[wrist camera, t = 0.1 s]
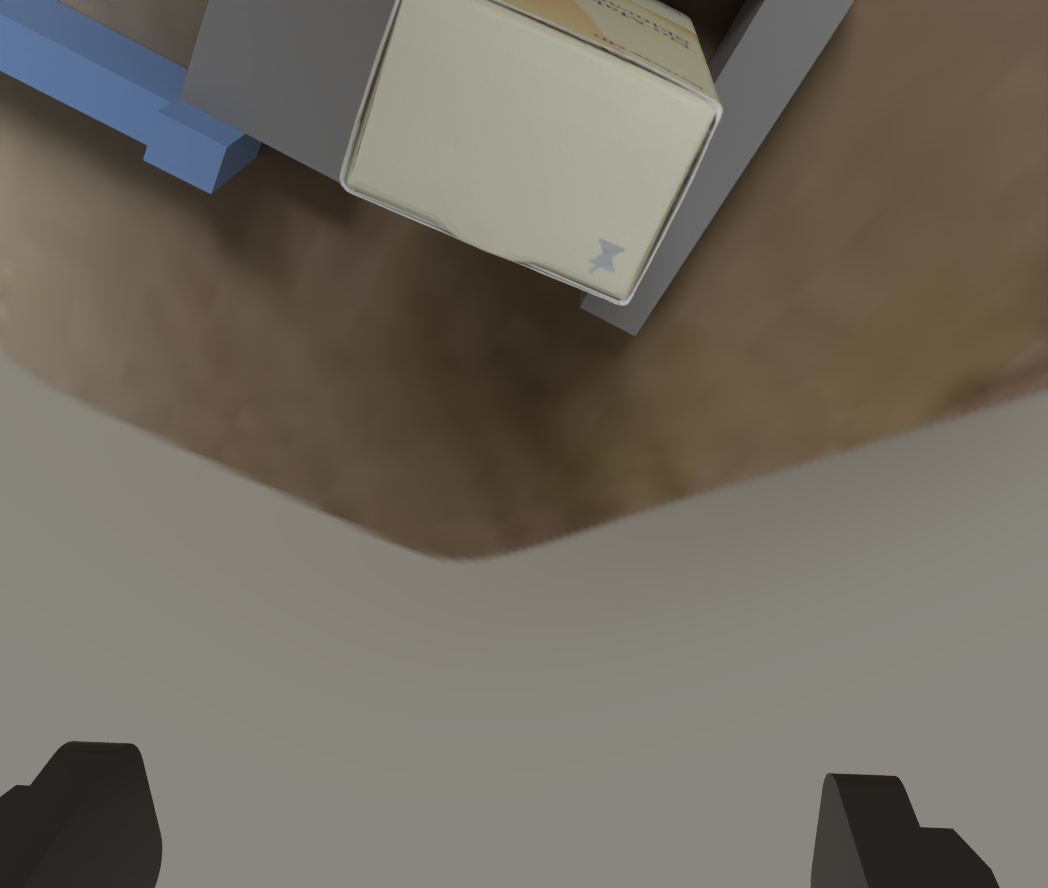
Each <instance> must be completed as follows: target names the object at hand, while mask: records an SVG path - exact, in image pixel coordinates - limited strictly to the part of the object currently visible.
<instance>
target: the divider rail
mask: <svg viewBox="0 0 1048 888" xmlns="http://www.w3.org/2000/svg"><path fill="white" fill-rule="evenodd" d="M854 1H855V0H746V1H745V3H744V4H743V6H742V8H741V9H740V11H739V13H738V14H737V16H736V18H735V19H734V21H733V23H732V25H731V26H730V28H729V30H728V31H727V33H726V35H725V36H724V38H723V40H722V41H721V43H720V45H719V46H718V48H717V50H716V52H715V53H714V55H713V57H712V58H711V60H710V62H709V63H708V65H707V66H708V68H709V71H710V74H711V77H712V80H713V83H714V86H715V89H716V91H717V94H718V97H719V100H720V103H721V105H722V107H723V115H722V119H721V121H720V122H719V124H718V126H717V129H716V131H715V133H714V135H713V138H712V140H711V142H710V144H709V147H708V149H707V151H706V154H705V156H704V158H703V160H702V162H701V164H700V167H699V169H698V171H697V173H696V175H695V177H694V179H693V181H692V183H691V185H690V187H689V189H688V191H687V193H686V195H685V197H684V199H683V201H682V203H681V205H680V208H679V210H678V212H677V214H676V215H675V217H674V219H673V221H672V223H671V225H670V227H669V229H668V231H667V233H666V235H665V237H664V239H663V241H662V243H661V244H660V246H659V248H658V250H657V252H656V254H655V256H654V258H653V260H652V262H651V264H650V265H649V267H648V269H647V271H646V273H645V275H644V276H643V278H642V280H641V282H640V284H639V285H638V287H637V289H636V291H635V293H634V295H633V297H632V299H631V301H630V303H629V304H628V305H626V306H620V305H616V304H614V303H612V302H610V301H608V300H605V299H603V298H600V297H598V296H595V295H593V294H590V293H588V292H585V291H583V290H581V292H580V306H579V308H581V309H583V310H585V311H587V312H589V313H591V314H593V315H595V316H597V317H599V318H601V319H603V320H604V321H606V322H608V323H610V324H612V325H614V326H616V327H618V328H620V329H622V330H624V331H626V332H628V333H629V334H631V335H633V336H636V334H637V333H638V331H639V330H640V328H641V327H642V325H643V324H644V322H645V321H646V319H647V318H648V316H649V315H650V313H651V312H652V310H653V308H654V307H655V305H656V304H657V302H658V301H659V299H660V298H661V296H662V295H663V293H664V292H665V290H666V289H667V287H668V286H669V284H670V282H671V281H672V279H673V278H674V276H675V275H676V273H677V272H678V270H679V269H680V267H681V266H682V264H683V263H684V261H685V259H686V258H687V256H688V255H689V253H690V252H691V250H692V249H693V247H694V246H695V244H696V243H697V241H698V240H699V238H700V237H701V235H702V233H703V232H704V230H705V229H706V227H707V226H708V224H709V223H710V221H711V220H712V218H713V217H714V215H715V214H716V212H717V210H718V209H719V207H720V206H721V204H722V203H723V201H724V200H725V198H726V197H727V195H728V194H729V192H730V191H731V189H732V188H733V186H734V184H735V183H736V181H737V180H738V178H739V177H740V175H741V174H742V172H743V171H744V169H745V168H746V166H747V165H748V163H749V161H750V160H751V158H752V157H753V155H754V154H755V152H756V151H757V149H758V148H759V146H760V145H761V143H762V142H763V140H764V139H765V137H766V135H767V134H768V132H769V131H770V129H771V128H772V126H773V125H774V123H775V122H776V120H777V119H778V117H779V116H780V114H781V112H782V111H783V109H784V108H785V106H786V105H787V103H788V102H789V100H790V99H791V97H792V96H793V94H794V93H795V91H796V90H797V88H798V86H799V85H800V83H801V82H802V80H803V79H804V77H805V76H806V74H807V73H808V71H809V70H810V68H811V67H812V65H813V63H814V62H815V60H816V59H817V57H818V56H819V54H820V53H821V51H822V50H823V48H824V47H825V45H826V44H827V42H828V41H829V39H830V37H831V36H832V34H833V33H834V31H835V30H836V28H837V27H838V25H839V24H840V22H841V21H842V19H843V18H844V16H845V15H846V13H847V11H848V10H849V8H850V7H851V5H852V4H853V2H854ZM394 3H395V0H208V4H207V7H206V10H205V14H204V17H203V20H202V24H201V27H200V30H199V34H198V37H197V41H196V44H195V47H194V51H193V54H192V57H191V61H190V64H189V67H188V70H187V69H186V68H184V67H182V66H180V65H178V64H176V63H174V62H172V61H170V60H169V59H167V58H165V57H163V56H161V55H159V54H157V53H155V52H153V51H151V50H150V49H148V48H146V47H144V46H142V45H140V44H138V43H136V42H134V41H132V40H131V39H129V38H127V37H125V36H123V35H121V34H119V33H117V32H115V31H114V30H112V29H110V28H108V27H106V26H104V25H102V24H100V23H98V22H96V21H95V20H93V19H91V18H89V17H87V16H85V15H83V14H81V13H79V12H78V11H76V10H74V9H72V8H70V7H68V6H66V5H64V4H62V3H60V2H59V1H57V0H0V71H2V72H3V73H5V74H7V75H9V76H11V77H13V78H15V79H17V80H19V81H21V82H23V83H25V84H27V85H29V86H31V87H33V88H35V89H37V90H39V91H41V92H43V93H45V94H47V95H49V96H51V97H53V98H55V99H57V100H59V101H61V102H63V103H65V104H67V105H69V106H70V107H72V108H74V109H76V110H78V111H80V112H82V113H84V114H86V115H88V116H90V117H92V118H94V119H96V120H98V121H100V122H102V123H104V124H106V125H108V126H110V127H112V128H114V129H116V130H118V131H120V132H122V133H124V134H126V135H128V136H130V137H132V138H134V139H136V140H137V141H139V142H141V143H143V144H145V145H147V148H146V152H145V155H144V159H143V160H144V161H146V162H148V163H150V164H152V165H154V166H156V167H158V168H160V169H162V170H164V171H166V172H168V173H170V174H172V175H174V176H176V177H178V178H179V179H181V180H183V181H185V182H187V183H189V184H191V185H193V186H195V187H197V188H199V189H201V190H203V191H205V192H207V193H209V194H212V193H213V192H215V191H216V190H217V189H218V188H220V187H221V186H222V185H223V184H225V183H226V182H227V181H228V180H229V179H231V178H232V177H233V176H234V175H236V174H237V173H238V172H239V171H240V170H242V169H243V168H244V167H245V166H247V165H248V164H249V163H250V162H251V161H253V160H254V159H255V158H256V157H257V155H258V152H259V150H260V147H261V144H262V143H264V144H266V145H268V146H270V147H272V148H274V149H276V150H278V151H280V152H282V153H283V154H285V155H287V156H289V157H291V158H293V159H295V160H297V161H299V162H301V163H303V164H305V165H307V166H308V167H310V168H312V169H314V170H316V171H318V172H320V173H322V174H324V175H326V176H328V177H330V178H332V179H333V180H335V181H337V182H339V183H340V180H339V175H340V171H341V167H342V164H343V160H344V157H345V154H346V150H347V147H348V144H349V140H350V137H351V133H352V130H353V127H354V123H355V120H356V117H357V113H358V110H359V107H360V105H361V102H362V98H363V95H364V92H365V89H366V86H367V83H368V79H369V76H370V73H371V69H372V66H373V64H374V61H375V58H376V54H377V51H378V48H379V46H380V43H381V40H382V37H383V34H384V32H385V29H386V26H387V23H388V20H389V17H390V14H391V11H392V8H393V5H394Z"/></svg>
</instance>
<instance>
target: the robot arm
mask: <svg viewBox="0 0 1048 888" xmlns="http://www.w3.org/2000/svg"><path fill="white" fill-rule="evenodd" d="M161 859H162V839H161V833H160V829H159V825H158V821H157V817H156V813H155V809H154V804H153V800H152V796H151V792H150V788H149V784H148V780H147V776H146V771H145V767H144V763H143V759H142V756H141V753H140V751H139V749H138V748H137V747H136V746H135V745H134V744H128V743H104V742H79V741H72V742H68V743H66V744H64V745H63V746H61V747H60V748H59V749H58V750H57V751H56V753H55V754H54V755H53V756H52V758H51V759H50V760H49V761H48V763H47V764H46V765H45V767H44V768H43V769H42V771H41V772H40V773H39V775H38V776H37V777H36V779H35V780H34V781H33V782H32V784H31V785H30V786H24V785H23V786H22V785H16V786H14V787H13V788H12V789H10V790H9V791H8V792H6V793H5V794H4V795H2V796H1V797H0V888H155V885H156V882H157V879H158V876H159V871H160V866H161ZM811 888H999V885H998V883H997V881H996V879H995V877H994V875H993V872H992V870H991V869H990V868H989V867H988V865H987V864H986V863H985V862H984V861H983V860H982V859H981V858H980V857H979V856H978V855H977V854H976V853H975V852H974V851H973V850H972V849H971V847H970V846H968V844H967V843H966V842H965V841H964V840H963V839H962V838H961V837H960V836H959V835H958V834H957V833H956V832H955V831H954V829H946V828H924V827H920V826H919V823H918V820H917V818H916V815H915V813H914V810H913V808H912V805H911V803H910V800H909V798H908V795H907V793H906V790H905V788H904V786H903V784H902V782H901V780H900V779H899V778H898V777H896V776H884V775H857V774H833V773H829V774H827V775H826V777H825V780H824V784H823V789H822V797H821V805H820V812H819V819H818V826H817V834H816V841H815V848H814V856H813V863H812V872H811Z"/></svg>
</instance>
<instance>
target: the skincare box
mask: <svg viewBox="0 0 1048 888" xmlns="http://www.w3.org/2000/svg"><path fill="white" fill-rule="evenodd" d="M722 115H723V107H722V105H721V103H720V100H719V97H718V94H717V91H716V89H715V86H714V83H713V80H712V77H711V74H710V71H709V68H708V66H707V63H706V60H705V57H704V54H703V51H702V49H701V46H700V43H699V41H698V37H697V34H696V32H695V29H694V26H693V23H692V20H691V19H690V18H689V17H688V16H687V15H685V14H683V13H681V12H680V11H678V10H676V9H674V8H672V7H670V6H668V5H666V4H664V3H662V2H660V1H658V0H395V3H394V5H393V8H392V11H391V14H390V17H389V20H388V23H387V26H386V29H385V32H384V34H383V37H382V40H381V43H380V46H379V48H378V51H377V54H376V58H375V61H374V64H373V66H372V69H371V73H370V76H369V79H368V83H367V86H366V89H365V92H364V95H363V98H362V102H361V105H360V107H359V110H358V113H357V117H356V120H355V123H354V127H353V130H352V133H351V137H350V140H349V144H348V147H347V150H346V154H345V157H344V160H343V164H342V167H341V171H340V175H339V180H340V184H341V185H342V187H343V188H344V189H345V190H346V191H347V192H348V193H350V194H352V195H355V196H358V197H360V198H362V199H365V200H367V201H369V202H372V203H374V204H376V205H379V206H381V207H383V208H385V209H388V210H390V211H392V212H395V213H397V214H400V215H402V216H404V217H407V218H409V219H412V220H414V221H416V222H419V223H421V224H423V225H426V226H428V227H431V228H433V229H435V230H438V231H441V232H443V233H445V234H447V235H449V236H451V237H454V238H456V239H458V240H460V241H463V242H465V243H467V244H469V245H472V246H474V247H476V248H479V249H481V250H483V251H486V252H488V253H491V254H493V255H496V256H499V257H502V258H504V259H507V260H510V261H512V262H515V263H518V264H520V265H523V266H525V267H528V268H530V269H532V270H535V271H537V272H539V273H542V274H544V275H546V276H549V277H551V278H553V279H556V280H558V281H561V282H564V283H566V284H568V285H571V286H573V287H575V288H578V289H580V290H583V291H585V292H588V293H590V294H593V295H595V296H598V297H600V298H603V299H605V300H608V301H610V302H612V303H614V304H616V305H620V306H626V305H628V304H629V303H630V301H631V299H632V297H633V295H634V293H635V291H636V289H637V287H638V285H639V284H640V282H641V280H642V278H643V276H644V275H645V273H646V271H647V269H648V267H649V265H650V264H651V262H652V260H653V258H654V256H655V254H656V252H657V250H658V248H659V246H660V244H661V243H662V241H663V239H664V237H665V235H666V233H667V231H668V229H669V227H670V225H671V223H672V221H673V219H674V217H675V215H676V214H677V212H678V210H679V208H680V205H681V203H682V201H683V199H684V197H685V195H686V193H687V191H688V189H689V187H690V185H691V183H692V181H693V179H694V177H695V175H696V173H697V171H698V169H699V167H700V164H701V162H702V160H703V158H704V156H705V154H706V151H707V149H708V147H709V144H710V142H711V140H712V138H713V135H714V133H715V131H716V129H717V126H718V124H719V122H720V121H721V119H722Z"/></svg>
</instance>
